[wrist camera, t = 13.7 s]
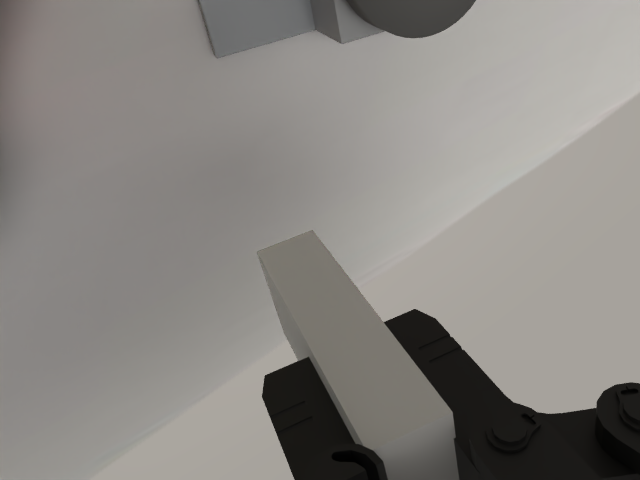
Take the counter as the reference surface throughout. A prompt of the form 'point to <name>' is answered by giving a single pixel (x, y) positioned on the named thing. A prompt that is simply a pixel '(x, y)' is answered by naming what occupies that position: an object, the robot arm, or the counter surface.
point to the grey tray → (278, 22)
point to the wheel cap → (411, 15)
